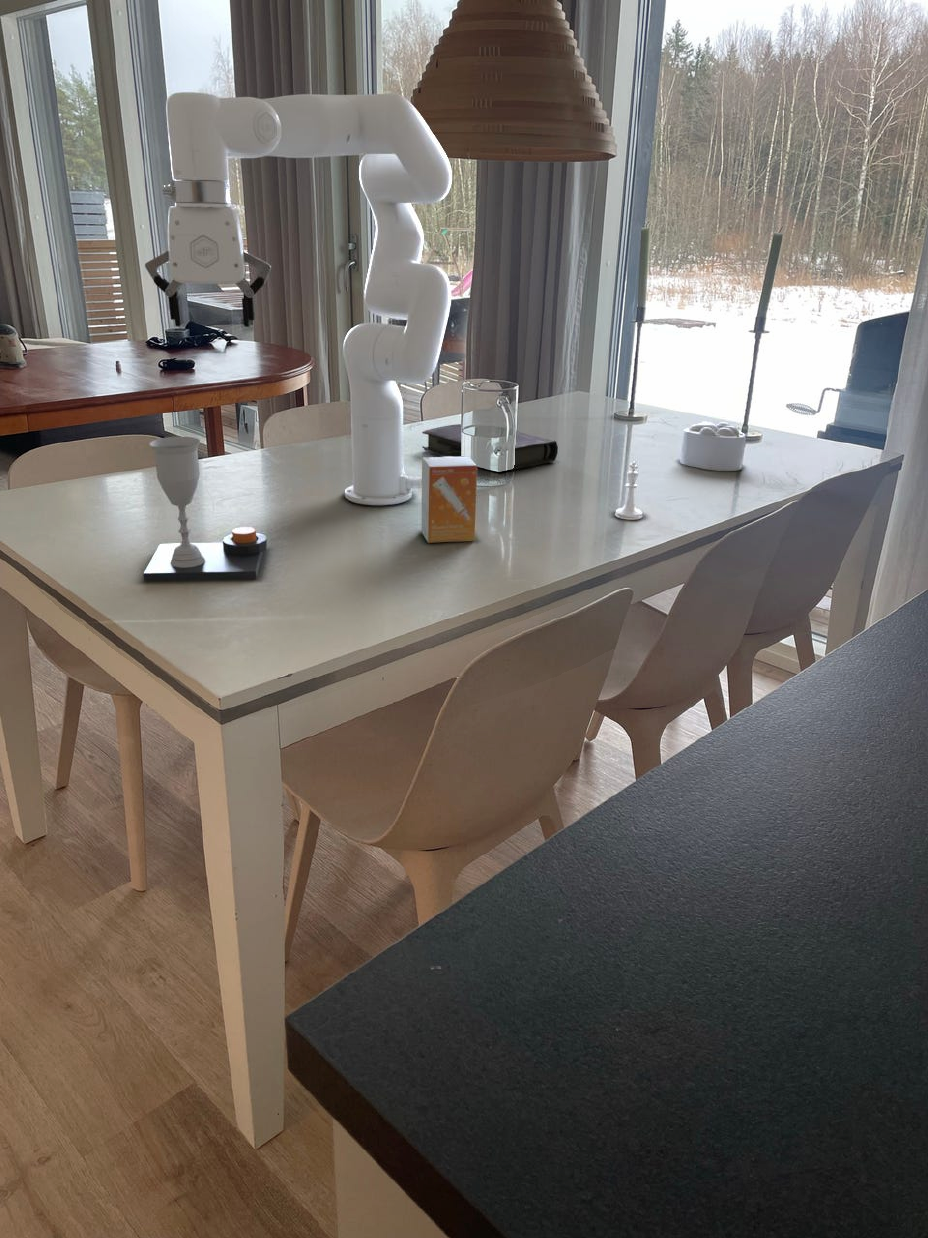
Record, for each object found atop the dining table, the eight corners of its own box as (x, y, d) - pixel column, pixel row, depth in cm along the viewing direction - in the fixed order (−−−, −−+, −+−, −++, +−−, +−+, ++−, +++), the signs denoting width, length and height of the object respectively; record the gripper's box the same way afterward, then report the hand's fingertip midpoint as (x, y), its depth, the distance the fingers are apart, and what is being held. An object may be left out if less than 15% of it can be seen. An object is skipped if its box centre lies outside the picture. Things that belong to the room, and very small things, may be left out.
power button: (257, 537, 146) (256, 526, 145) (255, 544, 143) (254, 533, 142) (234, 537, 146) (233, 526, 145) (231, 545, 142) (230, 534, 142)
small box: (427, 544, 152) (428, 466, 147) (420, 532, 158) (421, 456, 153) (475, 541, 154) (478, 464, 149) (467, 529, 160) (469, 454, 155)
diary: (480, 440, 221) (480, 419, 219) (557, 461, 204) (558, 438, 202) (419, 451, 209) (419, 429, 207) (496, 475, 192) (496, 451, 190)
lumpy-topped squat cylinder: (697, 454, 212) (702, 416, 209) (750, 465, 204) (756, 426, 201) (674, 462, 205) (679, 423, 202) (728, 474, 197) (734, 433, 194)
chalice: (197, 572, 135) (185, 449, 128) (154, 567, 136) (139, 446, 129) (219, 555, 142) (208, 438, 134) (178, 551, 143) (165, 435, 136)
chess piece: (625, 521, 166) (631, 466, 162) (609, 513, 170) (614, 459, 166) (647, 517, 168) (653, 463, 164) (631, 510, 172) (636, 457, 168)
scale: (268, 549, 149) (267, 531, 147) (261, 579, 137) (260, 560, 135) (161, 551, 147) (159, 533, 146) (144, 582, 135) (141, 563, 134)
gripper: (131, 194, 123) (147, 328, 130) (264, 197, 125) (272, 329, 132) (143, 194, 130) (157, 321, 137) (268, 197, 132) (276, 322, 139)
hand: (213, 325), depth 135 cm, fingers open, 9 cm apart
